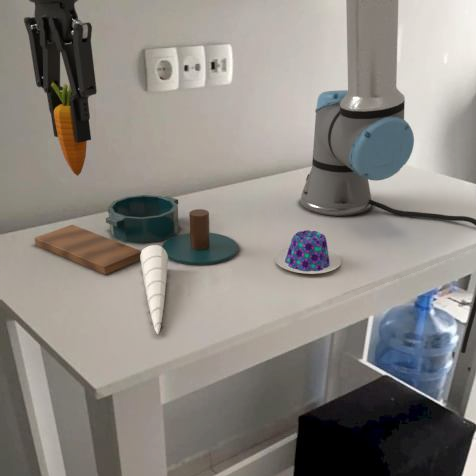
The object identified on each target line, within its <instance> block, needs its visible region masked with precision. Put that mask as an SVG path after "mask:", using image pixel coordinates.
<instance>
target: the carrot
mask: <svg viewBox="0 0 476 476" xmlns="http://www.w3.org/2000/svg"><path fill="white" fill-rule="evenodd" d="M51 86H52V87H53V89H54V90H55V92H56V93H57V95H58V96H59V98H60V100H61V101H62V103H63V104H60V105H59V106H57V107H56V108H55V109H54V119H55V124H56V130H57V135H58V137H57V139H58V142H59V146H60V149H61V152H62V154H63V157H64V159H65V161H66V163H67V165H68V167H69V168H70V170H71V172H72V173H73V174H74V175H76V176H77V177H78V176H80V174H81V173H82V170H83V167H84V165H85V161H86V156H87V145H88V144H87V143H88V141H84V142H80V143H77V142H75V135H74V128H73V120H72V113H71V105H70V98H69V97H70V96H73V95H72V91H71V87H70V84H69V85H67V83H64V84H63V86H62V87H63V89H62V91H60V90H59V88H58V87H57V85H56V84H55V83H52V85H51ZM61 92H62V94H61Z"/></svg>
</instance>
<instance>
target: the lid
mask: <svg viewBox="0 0 476 476" xmlns="http://www.w3.org/2000/svg"><path fill="white" fill-rule="evenodd" d="M188 215H189V232H186V233H181V234H177V235H174V236H172V237H170V238H167V239H166V241H164V242H163V244H162V246H161V247H162V248H164V249H165V250H166V253H167V255H168V260H171V261H173V262H176V263H178V264H183V265H190V266H208V265H216V264H220V263H223V262H226V261H229V260H231V259H232V258H234V257H235V256H236V255H237V253H238V251H239V246H238V243H237V242H236V241H235V240H234V239H233V238H231V237H229V236H227V235H223V234H220V233H216V232H210V211H208V210H206V209H202V208H197V209H192V210H190V211H189V214H188Z"/></svg>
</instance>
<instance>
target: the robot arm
mask: <svg viewBox="0 0 476 476" xmlns="http://www.w3.org/2000/svg"><path fill="white" fill-rule="evenodd" d="M28 1H29V2H30V3H34V14H33V15H32V16H25V17H24V18H23V22H24V23H23V24H24V26H25V29H26V32H27V35H28V40H29V41H28V42H29V47H30V53H31V60H32V66H33V67H32V68H33V72H34V73H33V74H34V79H35V84H36V87H38V88H42V89H43V91H44V93H45V94H46V98H47V105H48V110H49V113H50V118H51V125H52V132H53V136H54V137H55V138H58V135H57V130H56V124H55V119H54V109H55V108H56V107H57V106H59V105H60V104H63V103H62V101H61V100H60V98H59V96H58V95H57V93H56V92H55V90H54V89H53V87H52V86H51V85H52V83H55V84H56V85H57V87H58V88H59V90H60V92H61V94H62V89H63V86H62V85H61V57H62V61H63V65H64V69H65V71H66V76H67V79H68V83H69V85H70V87H71V91H72V95H73V96H70V97H69V98H70V105H71V113H72V120H73V128H74V135H75V142H77V143H80V142H84V141H87V142H88V141H91V140H92V135H91V127H90V118H91V116H90V115H91V114H90V105H89V98H90V97H91V96H93V95H96V94H97V91H98V89H97V83H96V73H95V64H94V57H93V56H94V55H93V48H92V33H93V26H92V23H91V22H83V21H82V20H81V19H79V16H78V13H77V10H76V7H75V4H76V3H77V2H78V1H79V0H28ZM345 6H346V7H345V8H346V10H345V11H346V53H347V54H346V55H347V56H346V57H347V58H346V59H347V60H346V61H347V89H346V90H345V89H343V90H327V91H323V92H321V93H320V94H319V95H318V97H317V100H316V101H317V102H316V106H315V107H316V108H315V110H314V112H315V118H314V119H315V121H314V134H313V137H314V138H313V150H312V161H311V169H310V171H309V173H308V174H307V176H306V178H305V184H304V187H303V188H302V192H301V197H300V204H301V206H302V207H303V208H304V209H306V210H308V211H310V212H312V213H316V214H320V215H325V216H334V217H335V216H336V217H346V216H355V215H360V214H363V213H365V212H367V211H369V210H370V208H371V206H373V207H376V208H378V209H381V210H384V211H386V212H388V213H390V214H393V215H396V216H397V215H398V216H403V217H415V218H423V219H424V218H425V219H436V220H442V221H443V220H444V221H453V222H466V223H470V224H472V225H474V226H476V218H474V217H470V216H464V215H463V216H462V215H447V214H440V213H430V212H420V211H408V210H400V209H396V208H392V207H390V206H388V205H386V204H383V203H381V202H378V201H375V200H373V199H372V194H371V188H370V182H369V181H377V182H378V181H383V180H387V179H389V178H391V177H393V176H394V175H396V174H398V173H399V172H400V171H401V169H402V168H403V167H404V166H406V164H407V163H408V162H409V159H410V157H411V156H412V153H413V149H414V145H415V136H414V131H413V129H412V127H411V125H410V124H409V122H407V121H406V120H405V106H406V105H405V104H406V103H405V102H406V100H405V99H406V98H405V95H404V94H403V93H402V92H401V91H400V90H399V88H398V87H397V80H398V79H397V75H398V70H397V69H398V36H399V0H345ZM475 317H476V295H475V296H474V300H473V304H472V308H471V312H470V315H469V318H468V322H467V325H466V330H465V333H464V337H463V341H462V345H461V349H460V353H462V354H466V352H467V346H468V342H469V338H470V335H471V331H472V327H473V323H474V320H475Z"/></svg>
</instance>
